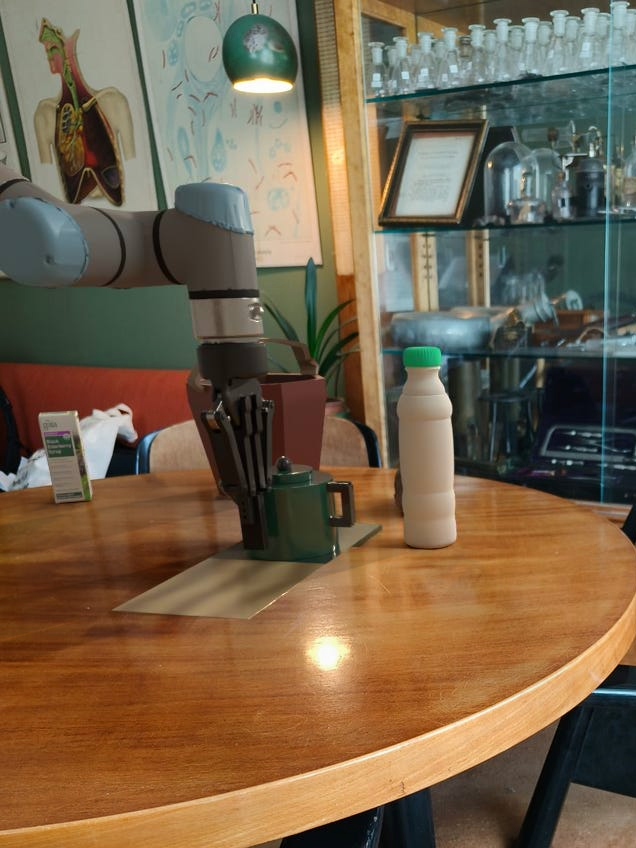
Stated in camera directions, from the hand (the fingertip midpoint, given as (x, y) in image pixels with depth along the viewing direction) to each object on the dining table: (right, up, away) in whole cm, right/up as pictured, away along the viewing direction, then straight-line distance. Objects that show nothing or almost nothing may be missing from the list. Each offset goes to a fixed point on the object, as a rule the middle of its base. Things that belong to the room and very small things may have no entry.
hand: (256, 548), depth 106 cm
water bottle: (+20, +2, +13) cm, 24 cm away
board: (0, -2, +4) cm, 4 cm away
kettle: (+2, +1, +9) cm, 9 cm away
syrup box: (-42, +13, +45) cm, 63 cm away
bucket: (-10, +15, +49) cm, 52 cm away
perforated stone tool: (+16, +10, +33) cm, 38 cm away
